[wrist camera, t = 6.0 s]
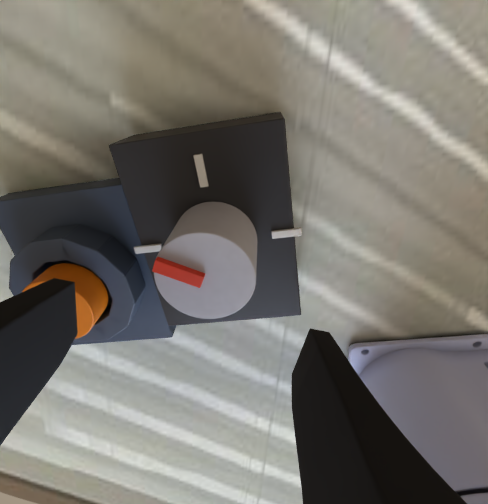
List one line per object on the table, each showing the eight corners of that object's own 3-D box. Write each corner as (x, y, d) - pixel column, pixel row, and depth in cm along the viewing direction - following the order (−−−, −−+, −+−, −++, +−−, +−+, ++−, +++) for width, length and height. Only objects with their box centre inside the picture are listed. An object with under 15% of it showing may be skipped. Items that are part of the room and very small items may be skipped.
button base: (8, 192, 18) (-44, 215, 15) (133, 175, 17) (105, 195, 14) (76, 328, 23) (47, 367, 20) (178, 320, 22) (164, 359, 19)
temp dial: (270, 220, 15) (272, 258, 11) (239, 286, 17) (233, 336, 13) (188, 187, 14) (166, 219, 11) (165, 259, 16) (140, 305, 13)
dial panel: (126, 135, 16) (98, 146, 13) (288, 110, 15) (293, 116, 13) (174, 295, 21) (161, 328, 18) (301, 284, 20) (308, 316, 17)
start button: (29, 266, 17) (5, 285, 15) (94, 259, 16) (76, 277, 15) (58, 320, 18) (39, 342, 17) (117, 315, 18) (103, 337, 16)
